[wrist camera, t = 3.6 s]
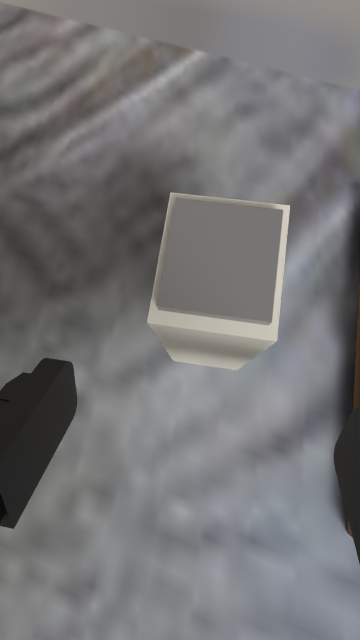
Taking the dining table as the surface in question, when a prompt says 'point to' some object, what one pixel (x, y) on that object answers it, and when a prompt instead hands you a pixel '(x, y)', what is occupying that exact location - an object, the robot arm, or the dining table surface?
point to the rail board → (356, 375)
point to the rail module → (219, 279)
